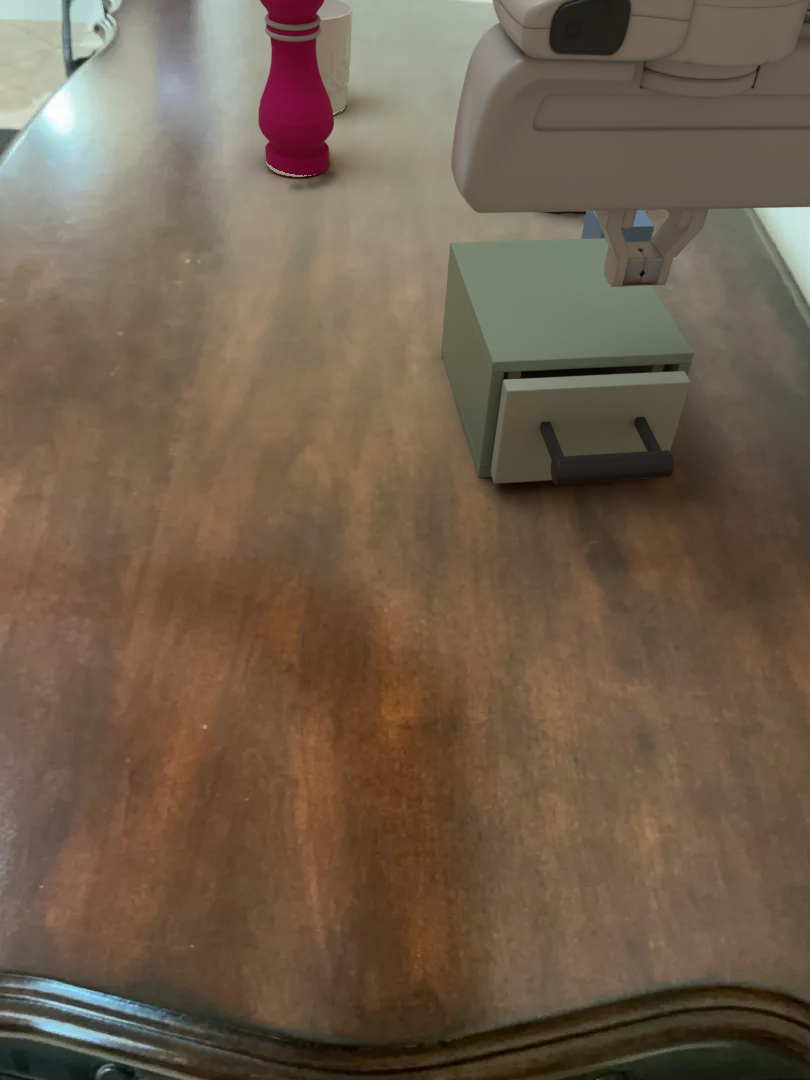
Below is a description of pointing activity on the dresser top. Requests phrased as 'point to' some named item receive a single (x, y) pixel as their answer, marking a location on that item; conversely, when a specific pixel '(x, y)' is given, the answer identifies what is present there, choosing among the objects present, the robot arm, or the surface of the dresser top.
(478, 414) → the green drawer cabinet
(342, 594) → the dresser top surface
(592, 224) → the slate blue block
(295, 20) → the pepper mill
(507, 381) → the drawer
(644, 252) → the robot arm
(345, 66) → the white cup
